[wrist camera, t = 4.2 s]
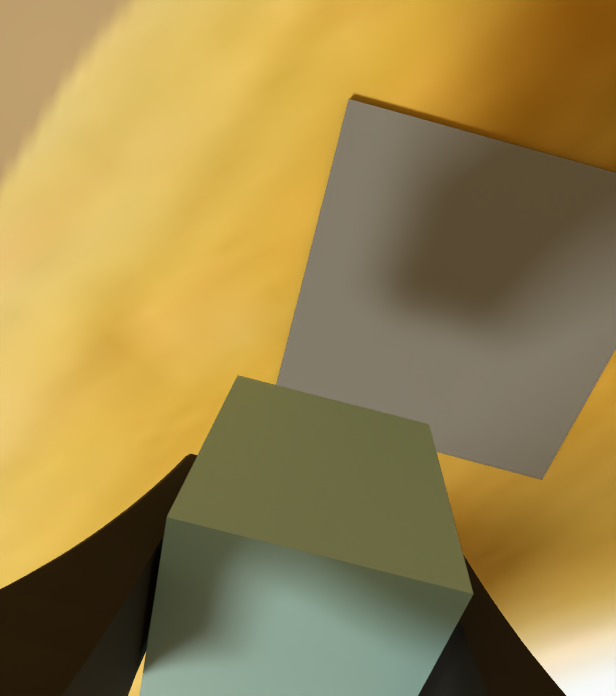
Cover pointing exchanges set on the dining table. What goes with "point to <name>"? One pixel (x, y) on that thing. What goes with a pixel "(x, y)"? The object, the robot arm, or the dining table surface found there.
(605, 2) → the dining table surface
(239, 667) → the teal cube
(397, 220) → the pad
